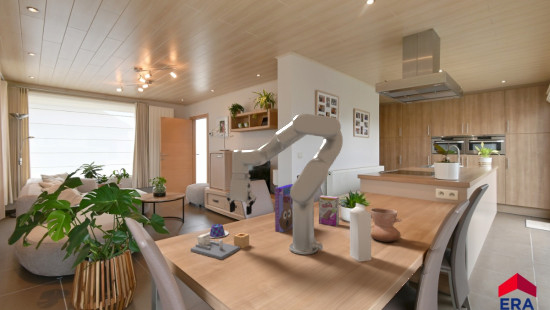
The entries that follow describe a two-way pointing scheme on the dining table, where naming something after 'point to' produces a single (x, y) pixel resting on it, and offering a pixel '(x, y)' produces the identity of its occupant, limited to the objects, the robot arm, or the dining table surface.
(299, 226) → the robot arm
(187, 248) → the dining table surface
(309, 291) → the dining table surface
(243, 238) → the orange hollow cube
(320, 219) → the candy bar box
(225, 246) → the base
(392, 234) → the ceramic jug
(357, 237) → the milk
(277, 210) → the cereal box
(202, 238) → the cream square block
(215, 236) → the pudding
